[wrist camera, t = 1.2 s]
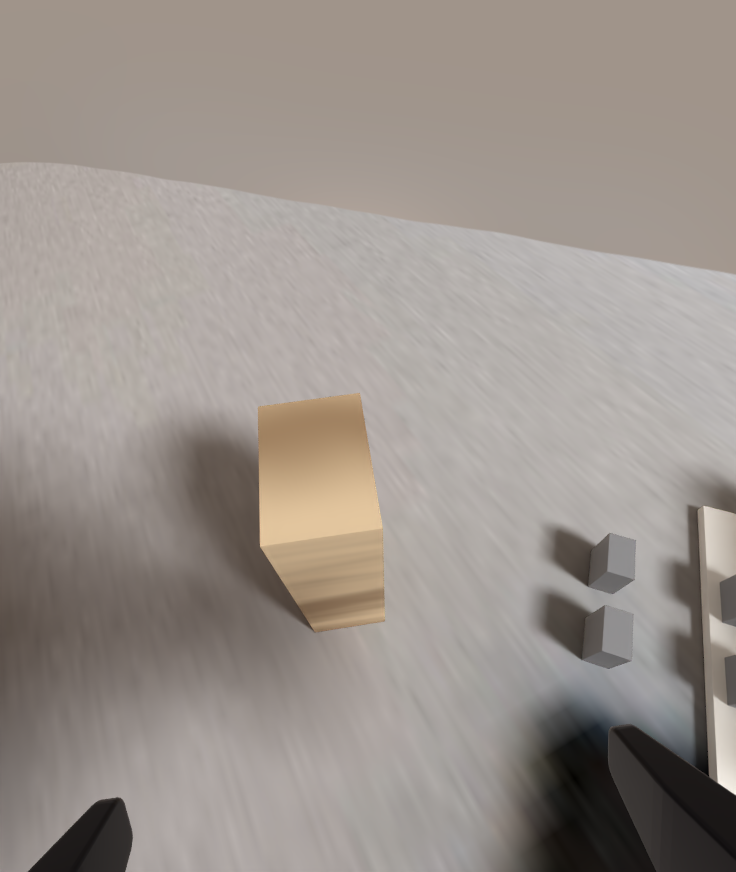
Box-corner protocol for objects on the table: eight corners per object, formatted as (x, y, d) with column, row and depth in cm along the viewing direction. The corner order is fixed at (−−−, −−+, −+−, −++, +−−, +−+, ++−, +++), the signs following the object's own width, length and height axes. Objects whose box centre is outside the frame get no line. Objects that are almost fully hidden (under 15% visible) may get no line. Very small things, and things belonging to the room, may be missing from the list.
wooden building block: (384, 621, 23) (382, 528, 13) (310, 633, 23) (251, 547, 13) (370, 528, 26) (359, 393, 16) (303, 537, 26) (250, 407, 16)
